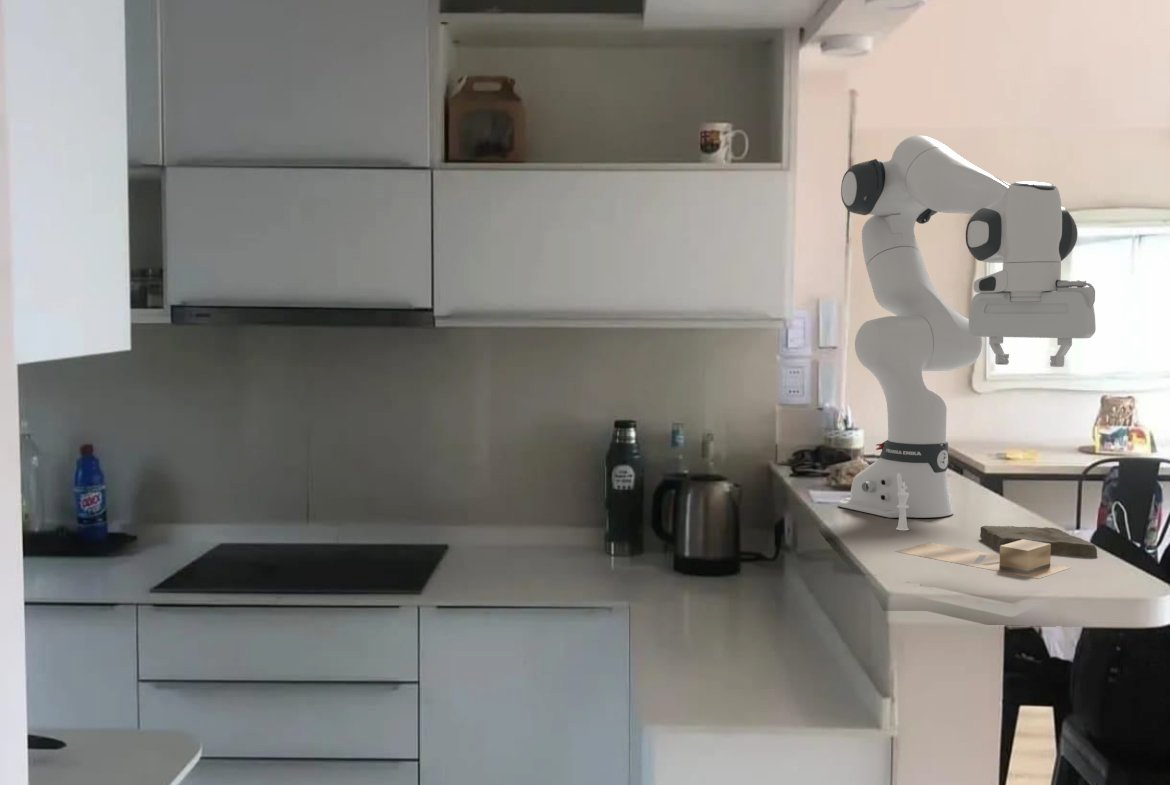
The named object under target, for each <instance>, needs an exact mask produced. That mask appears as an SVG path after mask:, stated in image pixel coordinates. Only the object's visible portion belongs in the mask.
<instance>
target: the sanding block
mask: <svg viewBox="0 0 1170 785" xmlns="http://www.w3.org/2000/svg"><path fill="white" fill-rule="evenodd" d="M999 555H1000V565H999V569H1003V570H1008V571H1014V572H1019V573H1024V574H1029V573H1032V572H1035V571H1038V570H1041V569H1044V568H1047V567H1050V564H1051V558H1052V557H1051V555H1052V554H1051V544H1049V543H1043V542H1037V541H1031V540H1025V539H1022V540H1019V541H1015V542H1012V543H1008V544H1005V545H1001V546H1000V552H999Z"/></svg>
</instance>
